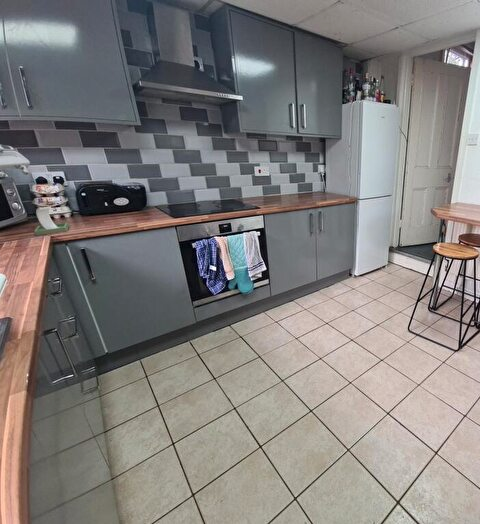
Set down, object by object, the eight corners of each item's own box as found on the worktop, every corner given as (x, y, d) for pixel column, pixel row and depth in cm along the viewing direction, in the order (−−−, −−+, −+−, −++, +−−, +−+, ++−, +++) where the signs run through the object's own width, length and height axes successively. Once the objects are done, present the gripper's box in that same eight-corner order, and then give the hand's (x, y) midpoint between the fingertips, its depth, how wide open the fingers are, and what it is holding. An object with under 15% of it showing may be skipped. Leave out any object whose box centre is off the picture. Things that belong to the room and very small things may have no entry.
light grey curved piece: (49, 231, 149) (39, 208, 144) (42, 230, 151) (32, 207, 146) (60, 229, 153) (50, 206, 148) (54, 227, 155) (44, 205, 150)
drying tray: (35, 235, 145) (33, 231, 144) (39, 229, 153) (37, 225, 152) (66, 231, 151) (65, 227, 151) (68, 225, 160) (67, 222, 159)
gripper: (-42, 147, 122) (-10, 172, 125) (15, 146, 141) (41, 168, 143) (-46, 158, 124) (-15, 182, 127) (11, 156, 143) (37, 177, 146)
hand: (15, 174), depth 135 cm, fingers open, 8 cm apart
